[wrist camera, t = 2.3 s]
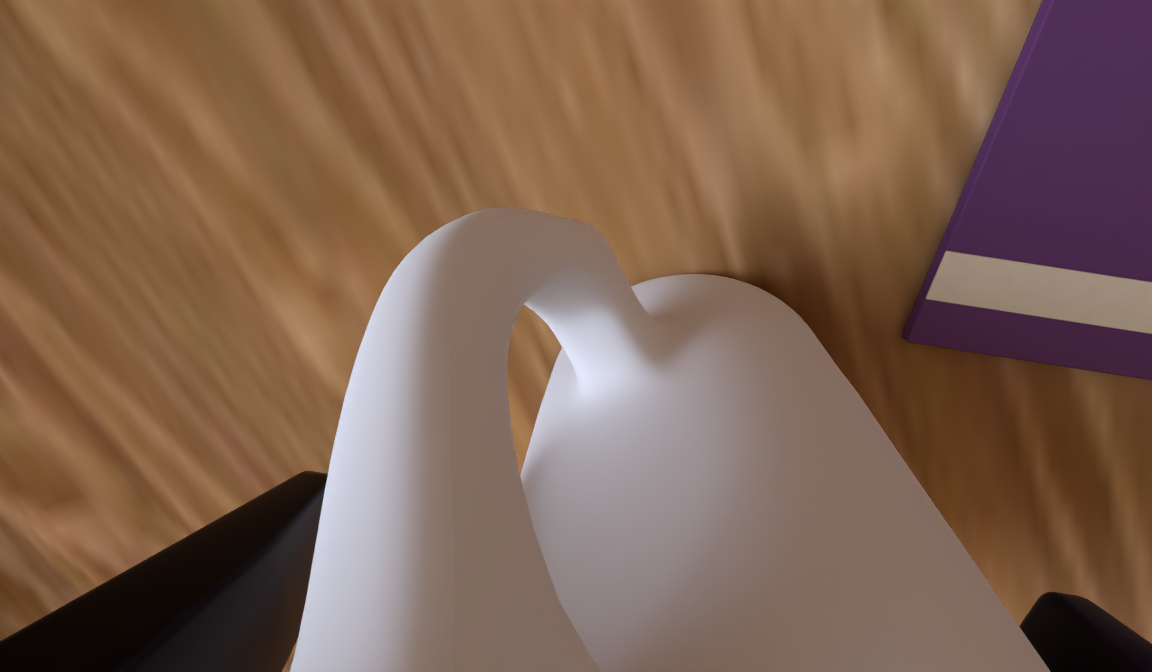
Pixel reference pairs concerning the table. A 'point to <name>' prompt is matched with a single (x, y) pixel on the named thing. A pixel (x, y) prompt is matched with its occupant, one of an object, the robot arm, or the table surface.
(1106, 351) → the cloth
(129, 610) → the robot arm
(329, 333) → the table surface
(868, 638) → the mug
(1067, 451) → the table surface
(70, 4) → the table surface
